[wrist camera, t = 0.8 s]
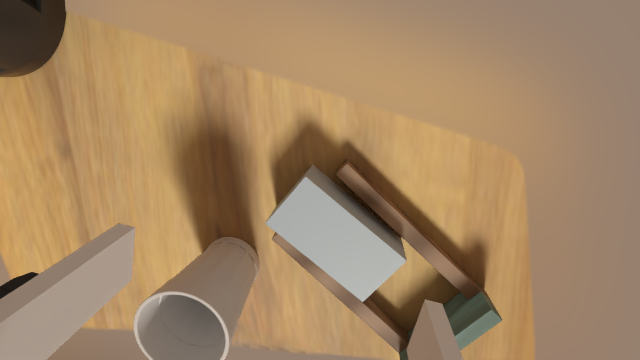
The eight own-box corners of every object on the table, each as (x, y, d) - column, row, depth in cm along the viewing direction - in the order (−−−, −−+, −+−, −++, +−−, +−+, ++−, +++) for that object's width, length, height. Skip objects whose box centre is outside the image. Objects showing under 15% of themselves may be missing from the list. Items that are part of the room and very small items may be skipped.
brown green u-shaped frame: (276, 231, 39) (264, 252, 34) (347, 159, 36) (345, 171, 31) (406, 348, 41) (413, 384, 36) (484, 290, 38) (502, 320, 33)
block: (277, 205, 38) (265, 223, 34) (312, 163, 37) (305, 176, 32) (362, 275, 39) (362, 302, 35) (400, 237, 38) (406, 260, 33)
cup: (266, 297, 41) (230, 381, 30) (199, 291, 42) (138, 370, 30) (266, 232, 39) (227, 296, 28) (195, 227, 40) (128, 286, 28)
